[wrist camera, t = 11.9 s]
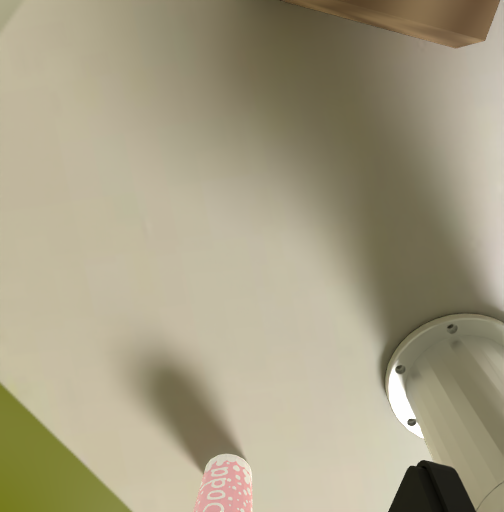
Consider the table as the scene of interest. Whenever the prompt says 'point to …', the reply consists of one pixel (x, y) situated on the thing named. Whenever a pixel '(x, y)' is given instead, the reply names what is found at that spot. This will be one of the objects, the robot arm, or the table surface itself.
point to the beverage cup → (225, 486)
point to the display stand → (417, 17)
